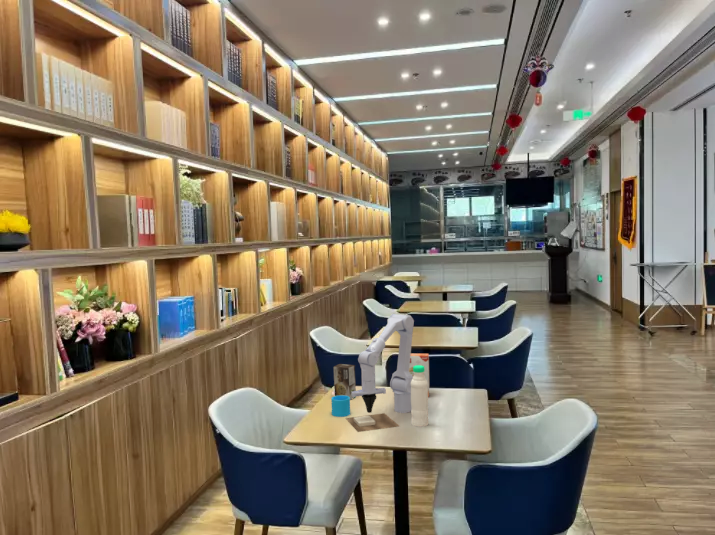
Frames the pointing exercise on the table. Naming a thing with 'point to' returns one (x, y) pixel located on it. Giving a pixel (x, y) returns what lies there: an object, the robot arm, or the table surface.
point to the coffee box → (344, 380)
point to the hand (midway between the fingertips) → (369, 412)
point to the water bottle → (419, 397)
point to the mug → (340, 406)
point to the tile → (364, 421)
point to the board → (380, 423)
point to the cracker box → (420, 360)
